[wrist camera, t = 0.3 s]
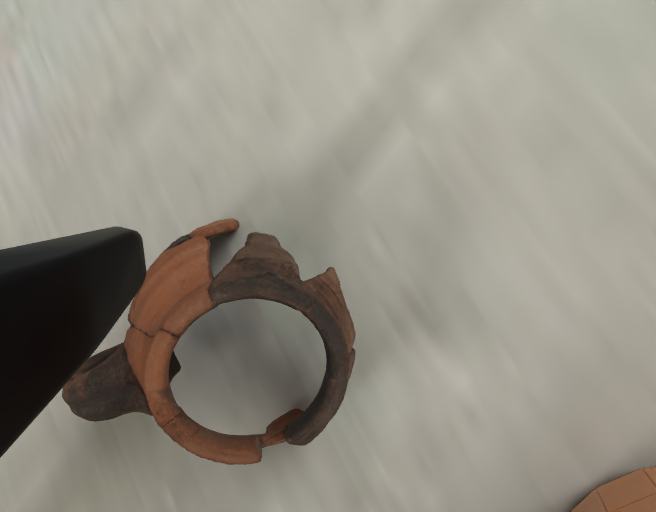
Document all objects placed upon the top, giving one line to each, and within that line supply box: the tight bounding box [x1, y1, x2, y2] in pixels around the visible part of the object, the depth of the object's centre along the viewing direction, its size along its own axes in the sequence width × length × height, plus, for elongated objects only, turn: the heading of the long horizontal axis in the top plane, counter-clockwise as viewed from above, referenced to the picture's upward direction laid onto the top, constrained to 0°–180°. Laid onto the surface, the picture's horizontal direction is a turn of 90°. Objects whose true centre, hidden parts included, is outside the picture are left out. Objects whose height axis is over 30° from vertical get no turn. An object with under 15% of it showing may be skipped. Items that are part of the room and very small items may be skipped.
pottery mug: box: [62, 219, 355, 465], centre depth 23 cm, size 12×10×8 cm
